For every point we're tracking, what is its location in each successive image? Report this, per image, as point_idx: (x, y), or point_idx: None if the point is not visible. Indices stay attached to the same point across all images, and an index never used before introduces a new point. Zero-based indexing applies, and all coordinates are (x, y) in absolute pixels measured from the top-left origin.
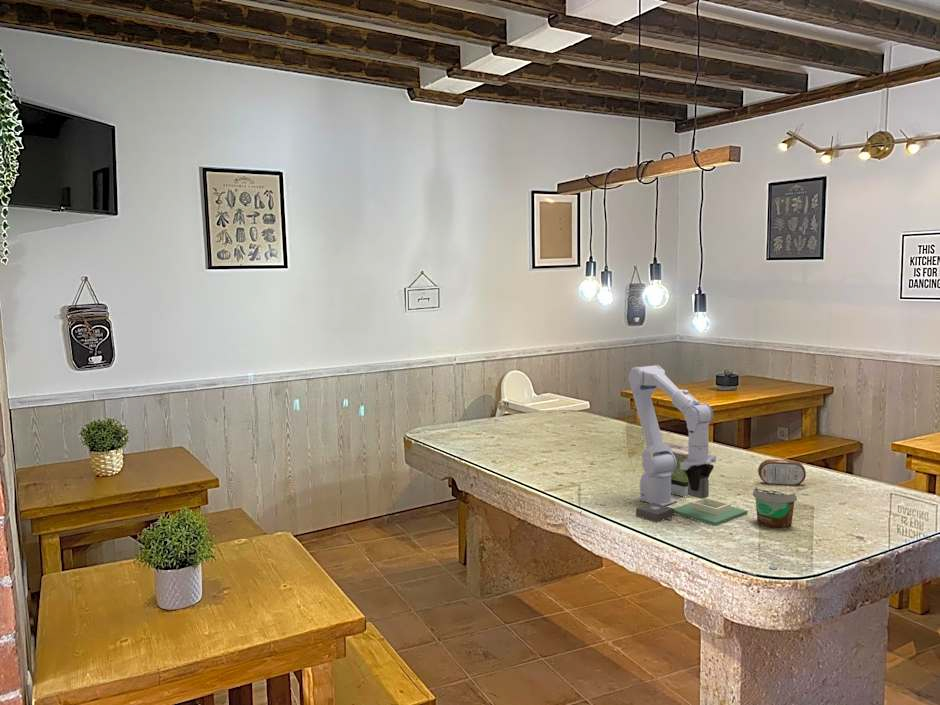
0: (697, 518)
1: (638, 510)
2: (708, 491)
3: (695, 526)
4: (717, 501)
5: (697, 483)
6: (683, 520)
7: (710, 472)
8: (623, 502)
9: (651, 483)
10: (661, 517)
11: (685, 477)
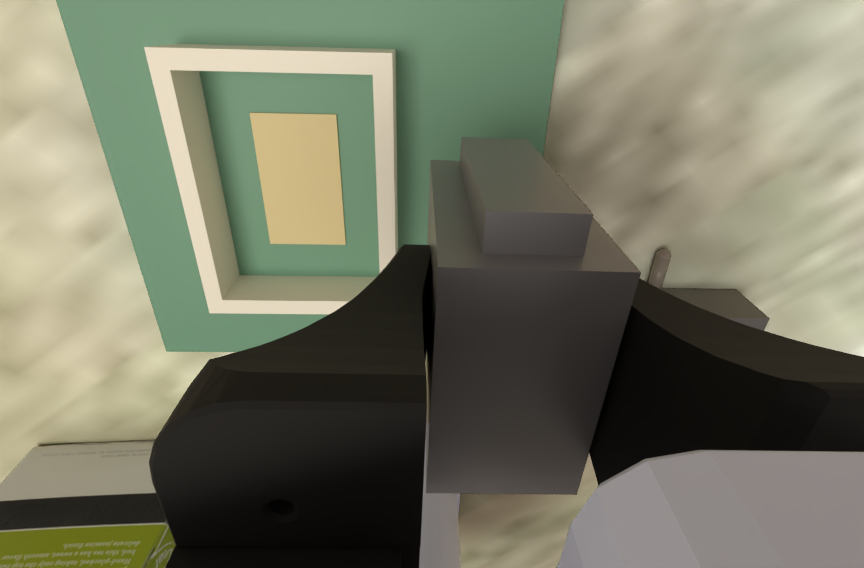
0: (544, 135)
1: None
2: (468, 152)
3: (677, 57)
4: (198, 189)
5: (645, 282)
6: (600, 202)
7: (312, 329)
8: (530, 542)
9: None
10: (704, 300)
11: (146, 558)
